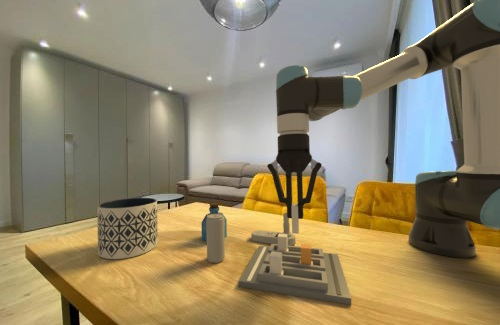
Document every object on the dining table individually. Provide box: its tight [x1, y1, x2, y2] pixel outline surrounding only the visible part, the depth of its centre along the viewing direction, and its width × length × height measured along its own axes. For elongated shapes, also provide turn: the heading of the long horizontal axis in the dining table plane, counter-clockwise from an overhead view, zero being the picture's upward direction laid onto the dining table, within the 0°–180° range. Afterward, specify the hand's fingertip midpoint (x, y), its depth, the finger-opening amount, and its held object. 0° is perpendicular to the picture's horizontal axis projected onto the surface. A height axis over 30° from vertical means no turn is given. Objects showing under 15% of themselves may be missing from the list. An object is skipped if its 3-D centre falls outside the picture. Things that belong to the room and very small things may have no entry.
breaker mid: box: [300, 243, 313, 265], centre depth 50 cm, size 3×2×5 cm
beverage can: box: [206, 213, 226, 264], centre depth 57 cm, size 5×5×12 cm
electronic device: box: [251, 212, 297, 246], centre depth 70 cm, size 5×10×15 cm
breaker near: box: [269, 251, 284, 275], centre depth 46 cm, size 3×2×5 cm
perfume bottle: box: [201, 202, 228, 243], centre depth 73 cm, size 6×6×12 cm
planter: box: [96, 197, 159, 260], centre depth 65 cm, size 16×16×14 cm
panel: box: [238, 244, 352, 306], centre depth 51 cm, size 22×19×3 cm
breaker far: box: [277, 232, 289, 251], centre depth 58 cm, size 3×2×5 cm
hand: (295, 231), depth 51 cm, fingers closed
